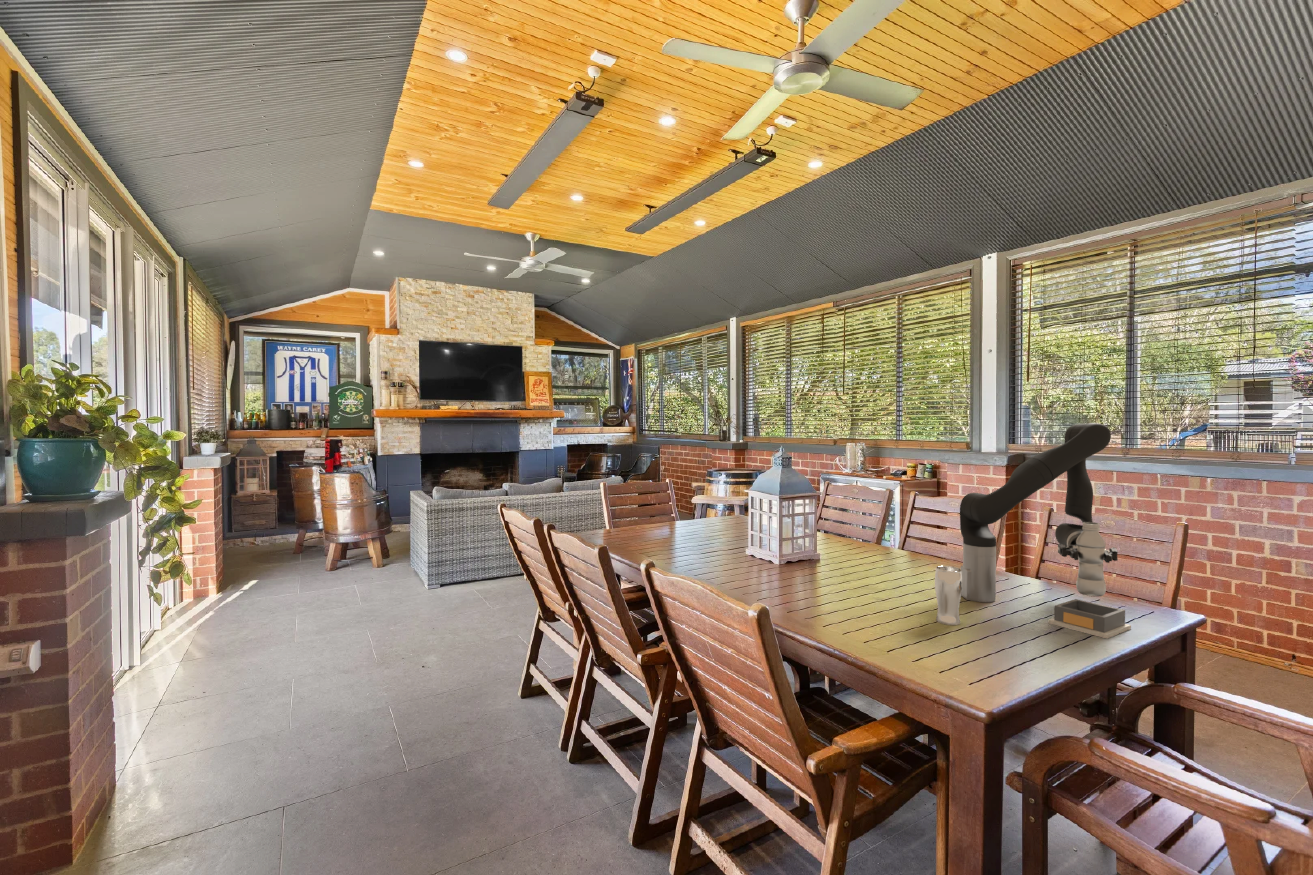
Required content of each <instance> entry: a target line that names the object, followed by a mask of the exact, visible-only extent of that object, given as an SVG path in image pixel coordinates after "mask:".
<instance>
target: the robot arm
mask: <svg viewBox="0 0 1313 875" xmlns="http://www.w3.org/2000/svg"><path fill="white" fill-rule="evenodd" d="M1111 438H1112V433H1111V430H1110V428H1109V427H1108V426H1106V425H1105V424H1102V423H1098V422H1089V423H1078V424H1077V423H1076V424H1073V425H1071V426H1069V427H1068V428H1067V429H1066V431H1065V433H1064V443H1063V444H1061V445H1058V446H1055V447H1053V448H1050V449H1047V450H1044V451H1042V452H1039V453H1038V454H1035V455H1034V456H1032V457H1029V458H1028V459H1026V460H1025V461H1024V462H1022V463H1021V464H1019V465H1018V466H1017V467H1016V468H1015V469H1014V470H1013V471H1012V473H1011V475H1010V477H1009V479H1008V480H1007V482H1006V483H1005V484H1003V485H1002V486H1001V487H999V488H997V489H996V490H994V491H993V492H990V493H988V494H986V493H985V494H984V493H979V492H969V493H967V494H965V495H964V497H962V499H961V502H960V505H959V523H960V524H959V525H960V533H961V537H962V542H963V544H962V565H960V569H962V595H961V598H962V597H963V599H964V600H966V601H972V602H978V603H979V602H980V603H993V602H995V601H996V600H997V599H996V598H997V597H996V595H997V594H996V592H997V589H996V588H997V584H996V583H997V537H996V536H995V535H994V534H993V533H992V531H991V530H990V528H989V527H990V526H989V525H992V524H994V523H996V522H998V521H999V520H1000V519H1002V518H1003V517H1004V516H1005V515H1007V514H1008V513H1009V512H1010V511H1011V510H1013V509H1014V508H1015V507H1016V506H1017V505H1018V504H1020V503H1021V502H1022V501H1024V500H1026V499H1028V498H1029V497H1030V496H1032V495H1033V494H1034V493H1036V492H1038V491H1040V490H1041V489H1043V488H1044V487H1045V486H1047V485H1048V484H1050V483H1051V482H1053V481H1054V480H1056V479H1057V478H1058V477H1060V476H1061V475H1063V474H1065V473H1066V478H1067V479H1066V495H1065V506H1064V512H1065V514H1066V515H1067V516H1070V517H1074V518H1077V519H1079V520H1080V522H1082V525H1081V524H1074V523H1067V522H1064V523H1060V524H1059V525H1057V527H1056V529H1055V531H1054V537H1055V539H1056V541H1057V553H1058V554H1059V555H1060V556H1062V557H1063V558H1066V557H1068V556H1069V558H1071V559H1073V560H1075V561H1079V559H1078V551H1077V545H1076V540H1077V538H1078V537H1079V535H1080V534H1081V533H1082V532H1083V529H1082V527H1083V522H1094V521H1093V515H1092V514H1093V513H1092V512H1093V503H1094V502H1093V501H1094V488H1093V486H1092V482H1091V479H1090V476H1089V474H1088V471H1087V466H1086V465H1087V459H1088V458H1090V457H1092V456H1093V455H1095V454H1098V453H1099V452H1101V451H1103V450H1104V449H1105V448H1107V447H1108V446H1109V443H1110V441H1111V440H1112V439H1111ZM1118 554H1119V552H1118V549H1117V547H1109V549H1105V552H1104V559H1103V562H1105V563H1106V564H1110V562H1112V561H1114V562H1116V561H1117V562H1118Z"/></svg>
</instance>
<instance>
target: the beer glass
mask: <svg viewBox="0 0 1313 875" xmlns="http://www.w3.org/2000/svg"><path fill="white" fill-rule="evenodd" d="M934 572H935V575H934V591H935V597H936V601H937V614H936V618H935V620H936V622H937V623H939V624H941V625H946V626H958V625H960V624H961V618H960V611H959V610H960V604H961V599H962V596H961V595H962V569H961V567H957V566H953V565H952V566H950V565H938V566H935V571H934Z"/></svg>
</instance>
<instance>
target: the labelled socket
mask: <svg viewBox="0 0 1313 875" xmlns="http://www.w3.org/2000/svg"><path fill="white" fill-rule="evenodd" d="M1053 607H1054V608H1053V610H1054V612H1053V614H1054V615H1053V617H1051V618H1050V619H1048V624H1050V625H1053V626H1058V627H1061V628H1066V629H1069V630H1073V631H1077V632H1081V633H1084V634H1089V635H1092V636H1095V637H1100V638H1102V639H1110V638H1112V637H1115V636H1117V635H1120V634H1122V633H1124V632H1126V631H1129V630H1131V629H1132V625H1131V624H1127V623H1126V609H1121V608H1117V607H1112V606H1109V605H1104V604H1100V603H1096V602H1090V601H1086V600H1081V599H1077V598H1075V599H1074V598H1073V599H1072V600H1069V601H1066V602H1062V603H1058V604H1055V605H1054V606H1053ZM1119 633H1120V634H1119Z"/></svg>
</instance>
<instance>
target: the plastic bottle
mask: <svg viewBox="0 0 1313 875" xmlns="http://www.w3.org/2000/svg"><path fill="white" fill-rule="evenodd" d="M1082 525H1083V527H1082V529H1083V532H1082V533H1081V534H1080V535H1079V537H1078V538H1077V540H1076V545H1077V551H1078V559H1079V560H1078V569H1077V570H1078V571H1077V577H1076V583H1075V585H1076V590H1077V592H1078V594H1080V595H1083V596H1087V597H1097V598H1098V597H1103V596H1104V595H1105V594H1106V591H1107V585H1106V581H1105V580H1106V579H1105V576H1104V560H1103V559H1104V552H1105V550H1106V540H1105V539H1104V537H1103V536H1102V535H1101V533H1100V531H1101V528H1100V527H1101V526H1100V523H1098V522H1094V521H1093V522H1083V523H1082Z"/></svg>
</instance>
